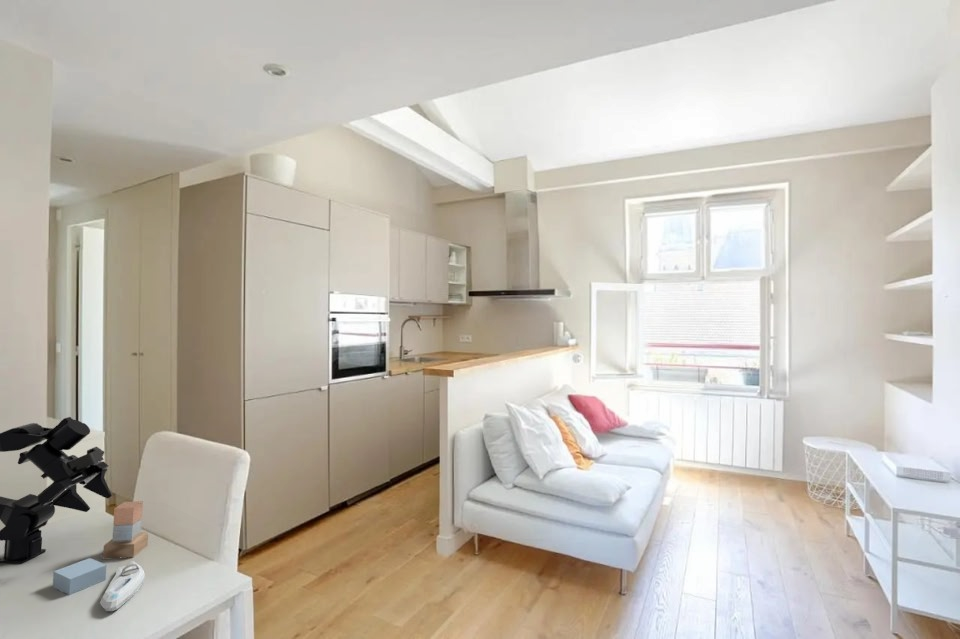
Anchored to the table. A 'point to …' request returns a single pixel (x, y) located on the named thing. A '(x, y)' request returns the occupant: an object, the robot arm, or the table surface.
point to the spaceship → (123, 586)
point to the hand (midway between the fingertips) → (99, 503)
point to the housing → (127, 522)
